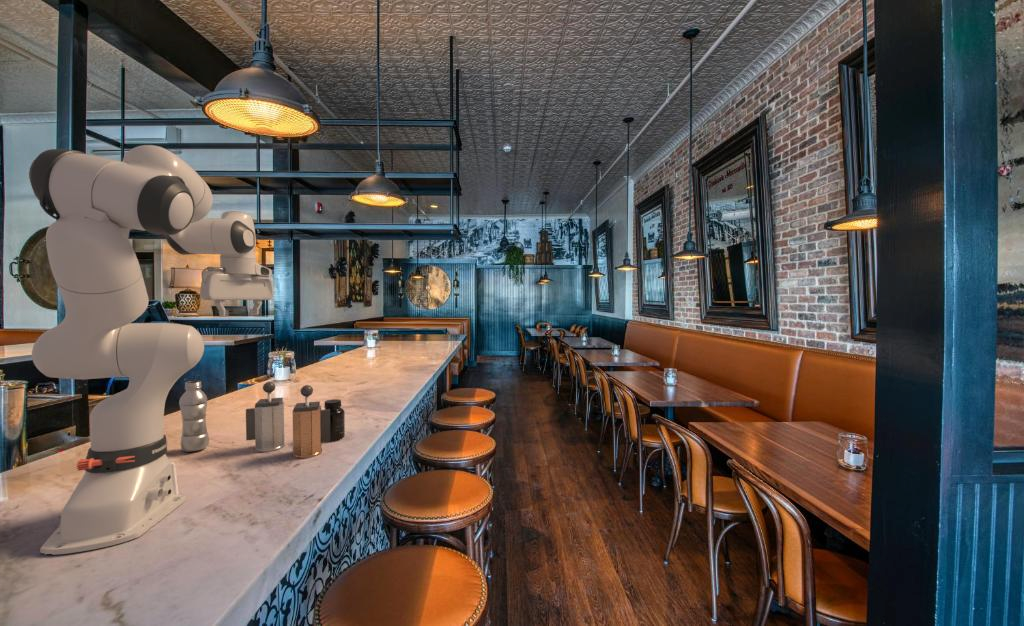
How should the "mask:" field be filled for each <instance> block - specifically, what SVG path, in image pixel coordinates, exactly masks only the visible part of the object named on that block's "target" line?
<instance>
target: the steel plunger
mask: <svg viewBox="0 0 1024 626" xmlns="http://www.w3.org/2000/svg"><path fill="white" fill-rule="evenodd" d="M275 389H276V384H275V383H274V382H273V381H267V382H265V383H264V384H263V385H262V390H263V392H264V393H266V395H267V399H268V401H271V398H272V392H274V391H275Z"/></svg>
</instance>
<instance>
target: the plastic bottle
mask: <svg viewBox="0 0 1024 626" xmlns="http://www.w3.org/2000/svg"><path fill="white" fill-rule="evenodd" d="M184 384H185V385H184V390H185V392H184V393H182V395H181V396H180V398H179V402H178V404H179V408H180V409H179V410H180V413H181V422H182V427H181V429H182V431H181V437H180V448H181V450H182V451H183V452H186V453H189V452H190V453H191V452H197V451H201V450H205V449H206V448H208V445H209V442H210V436H209V432H208V429H207V427H208V426H207V419H206V417H207V407H208V406H207V405H208V397H207V394H205V392H204V391H203V390H202V387H203V386H202V381H201V380H192V381H191V380H190V381H185V382H184Z"/></svg>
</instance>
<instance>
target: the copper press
mask: <svg viewBox="0 0 1024 626" xmlns="http://www.w3.org/2000/svg"><path fill="white" fill-rule="evenodd" d="M328 441H330V409H328V410H324V409H322V405H321V401H309V405H308V406H305V402H297V403H296V404H295V405H294V406H293V409H292V457H293V458H295V459H300V460H301V459H303V460H304V459H310V458H314V457H316V456H319V455H321V454H322V453H323V447H322V444H323V443H326V442H327V443H329V442H328Z"/></svg>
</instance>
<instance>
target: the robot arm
mask: <svg viewBox="0 0 1024 626" xmlns="http://www.w3.org/2000/svg"><path fill="white" fill-rule="evenodd" d="M28 179H29V182H30V186H31V190H33V193H34V195H35V197H36V198H37V200H38V202H39V206H40V207H41V209H42V211H44V213H46V214H47V215H48V216H50V217H51V218H53V219H55V221H54V222H52V223H51V224H50V225H49V226H48V228H47V230H46V233H45V243H46V244H45V246H46V252H47V257H48V263H49V266H50V270H51V273H52V275H53V278H54V281H55V283H56V285H57V288H58V290H59V292H60V293H59V294H60V295H61V298H62V301H63V305H64V309H65V316H64V318H63V320H62V321H61V322H60V323H59V324H57V325H56V326H54V327H52V328H49V329H47V330H46V331H45V332H43V333H42V334H41V335H40V336H39V337H37V339H36V340H35V343H34V344H33V346H32V351H31V359H32V362H33V365H34V366H35V367H36V369H37V370H38V371H39V372H40V373H42V374H43V375H44V376H45V377H48V378H53V379H54V378H57V379H64V380H65V379H68V380H69V379H70V380H92V379H96V380H97V379H106V378H107V379H108V378H121V377H122V378H123V377H125V378H129V379H128V380H129V381H128V386H127V388H125V389H123V390H121V391H120V392H117V393H114V394H112V395H111V396H108V397H106V398H104V399H102V400H100V401H99V402H98V403H97V404H96V405H95V406H94V407H93V408H92V410H91V411H90V414H89V438H90V448H88V449H87V454H86V457H85V458H82V459H79V460H78V461H77V463H76V470H77V471H85V472H84V474H83V476H82V478H81V479H80V480H79V482H78V484H77V485H76V487H75V488H74V490H73V491H72V494H71V495H70V497H69V498H68V500H67V502H66V503H65V505H64V507H63V508H62V510H61V515H60V523H59V526H58V527H57V528H56V529H55V531H53V533H52V534H51V535H50V536H49V537H48V538H47V539H46V541H45V542H44V543H43V544H42V545H41V547H40V548H39V550H40V551H39V553H40V552H41V553H45V554H44V555H47V554H52V555H54V556H57V555H65V554H74V553H80V552H86V551H92V550H98V549H102V548H107V547H111V546H115V545H119V544H122V543H125V542H129V541H132V540H134V539H137V538H139V537H141V536H142V535H144V534H145V533H146V532H147V531H149V530H150V529H151V528H153V527H154V526H155V525H157V524H158V523H159V522H160V521H161V520H163V519H164V518H165V517H167V516H168V515H169V514H170V513H172V512H173V511H174V510H176V509H177V508H178V507H180V505H182V504H183V503H185V502H186V501H187V495H186V494H184V493H179V487H178V479H177V478H178V476H177V469H176V464H175V462H173V461H172V460H171V459H170V458H169V457H168V456H167V454H166V453H167V452H168V441H167V435H165V433H164V428H165V427H164V422H165V421H164V417H165V406H166V400H167V397H168V395H169V393H170V390H171V389H172V388H173V386H174V385H175V383H177V382H178V380H179V379H180V378H181V377H182V376H183V375H184V374H186V373H187V372H189V371H190V370H191V369H193V368H194V367H195V366H197V365H198V363H199V362H200V361H201V359H202V357H203V355H204V351H205V342H204V338H203V336H202V334H201V333H200V332H199V330H197V329H196V328H195V327H194V326H192V325H187V324H181V323H173V322H139V323H137V322H135V323H133V322H134V321H136V320H137V319H138V318H140V317H141V316H142V315H143V314H144V313H145V312H146V311H147V308H148V305H149V303H150V302H149V301H150V300H149V295H148V291H147V286H146V284H145V280H144V276H143V272H142V269H141V266H140V262H139V259H138V258H137V254H136V252H135V250H134V248H133V246H132V244H131V242H130V240H129V237H130V231H131V229H132V230H136V231H137V230H138V231H144V232H145V231H146V232H148V233H150V234H153V235H161V236H162V235H163V236H164V237H165V240H166V242H167V244H168V246H170V248H171V249H172V250H173V251H175V252H177V253H178V254H180V255H185V256H186V255H220V256H219V263H220V266H219V267H213V266H207V267H205V268H204V269H203V270H202V271H201V282H200V289H199V290H200V291H199V292H200V293H199V295H200V298H201V299H202V300H203V301H214V306H215V307H216V309H217V310H218V315H219V317H229V315H230V313H229V310H228V309H226V308H225V306H224V305H225V304H226V301H252V304H253V307H252V308H251V309H249V312H250V313H249V314H250V315H251V316H258V315H259V314H260V313H259V312H260V308H261V307H262V304H263V301H271V300H272V299H273V297H274V282H273V279H272V278H271V276H272V275H273V271H272V269H271V268H269V267H266V266H264V265H261V264H260V263H257V257H256V254H255V249H256V246H257V240H256V239H257V238H256V229H255V225H254V224H255V223H254V219H253V217H252V216H251V215H249V214H248V213H245V212H241V211H235V210H229V211H224V212H223V213H222V214H221V216H220V217H221V218H213V217H211V218H210V217H209V218H208V217H206V216H208V214H209V213H210V212H211V209H212V207H213V202H214V197H213V193H212V191H211V189H210V186H209V185H208V183H207V182H206V181H205V180H204V179H203V178H202V176H200V174H198V172H197V171H196V170H194V168H193V167H192V166H191V165H189V164H188V163H187V162H186V161H185V160H183V159H182V158H181V157H179V156H178V155H176V154H175V153H173V152H172V151H170V150H168V149H167V148H164V147H162V146H159V145H153V144H144V145H139V146H136V147H133V148H131V149H130V150H128V151H127V152H126V153H125V155H124V157H123V158H122V160H120V161H119V160H116V159H111V158H108V157H104V156H99V155H91V154H87V153H86V152H83V151H81V150H75V149H74V150H73V149H65V148H53V149H52V148H51V149H47V150H44V151H43V152H41V153H39V154H38V155H37V157H35V159H34V160H32V163H31V164H30V167H29V171H28ZM41 553H40V554H41ZM52 555H51V556H52Z"/></svg>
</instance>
